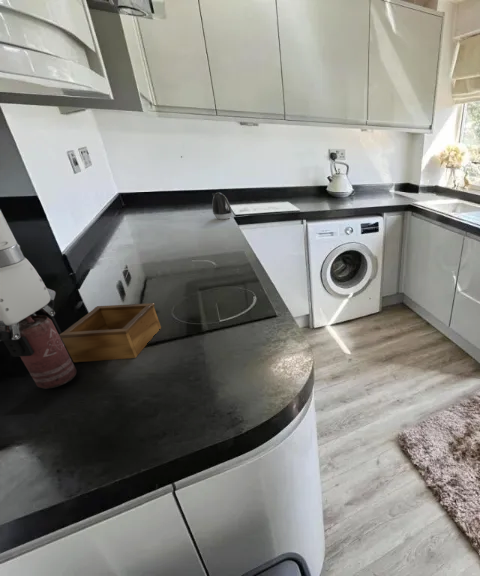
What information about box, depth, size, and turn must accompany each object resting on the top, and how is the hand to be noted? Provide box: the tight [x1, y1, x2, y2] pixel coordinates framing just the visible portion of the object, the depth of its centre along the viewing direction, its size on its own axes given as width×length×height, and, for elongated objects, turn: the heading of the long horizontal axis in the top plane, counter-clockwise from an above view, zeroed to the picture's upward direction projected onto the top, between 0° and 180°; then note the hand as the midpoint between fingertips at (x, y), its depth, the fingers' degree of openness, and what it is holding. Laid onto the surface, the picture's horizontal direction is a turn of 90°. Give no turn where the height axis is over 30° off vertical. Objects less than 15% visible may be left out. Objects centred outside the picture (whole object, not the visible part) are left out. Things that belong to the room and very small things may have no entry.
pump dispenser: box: [211, 192, 233, 220], centre depth 190 cm, size 10×10×15 cm
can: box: [6, 315, 77, 390], centre depth 64 cm, size 6×6×14 cm
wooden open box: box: [59, 302, 162, 363], centre depth 79 cm, size 13×13×8 cm
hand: (38, 343), depth 63 cm, fingers closed on can, 6 cm apart
